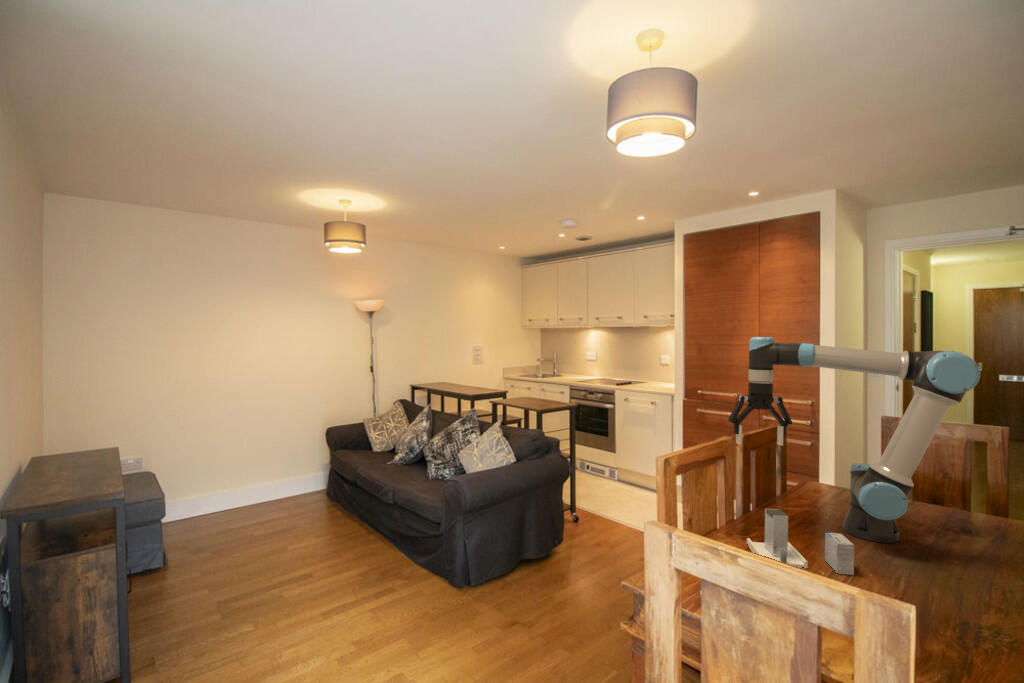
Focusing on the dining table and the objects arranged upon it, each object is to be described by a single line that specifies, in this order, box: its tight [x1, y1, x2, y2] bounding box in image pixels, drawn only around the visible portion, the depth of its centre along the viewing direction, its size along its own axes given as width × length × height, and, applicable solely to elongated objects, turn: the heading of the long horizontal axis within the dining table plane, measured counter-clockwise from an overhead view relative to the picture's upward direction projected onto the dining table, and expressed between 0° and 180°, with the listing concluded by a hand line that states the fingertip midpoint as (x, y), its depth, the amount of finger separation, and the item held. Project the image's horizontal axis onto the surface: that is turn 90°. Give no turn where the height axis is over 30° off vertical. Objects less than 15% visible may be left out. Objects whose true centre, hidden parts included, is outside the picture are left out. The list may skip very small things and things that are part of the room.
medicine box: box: [824, 532, 855, 576], centre depth 139 cm, size 8×4×9 cm, turn 168°
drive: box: [763, 508, 789, 557], centre depth 147 cm, size 4×6×12 cm
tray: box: [746, 537, 809, 570], centre depth 146 cm, size 12×14×4 cm
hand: (759, 444), depth 167 cm, fingers open, 13 cm apart
